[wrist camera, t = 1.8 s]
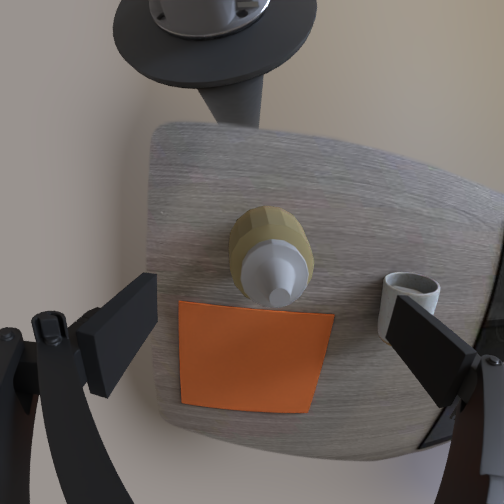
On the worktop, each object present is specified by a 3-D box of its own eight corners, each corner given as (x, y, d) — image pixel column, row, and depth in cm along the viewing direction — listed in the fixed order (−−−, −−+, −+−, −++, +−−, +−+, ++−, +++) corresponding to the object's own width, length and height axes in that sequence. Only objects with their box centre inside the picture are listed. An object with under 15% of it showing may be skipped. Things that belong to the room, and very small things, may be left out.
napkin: (179, 300, 35) (178, 301, 34) (333, 314, 35) (334, 315, 35) (182, 401, 39) (181, 403, 38) (307, 411, 39) (307, 412, 39)
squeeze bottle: (287, 279, 34) (317, 369, 16) (222, 260, 33) (192, 337, 16) (309, 216, 32) (370, 251, 15) (242, 194, 32) (229, 204, 14)
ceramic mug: (367, 329, 36) (390, 359, 28) (374, 273, 34) (402, 294, 26) (427, 319, 36) (454, 342, 28) (435, 267, 34) (468, 284, 26)
